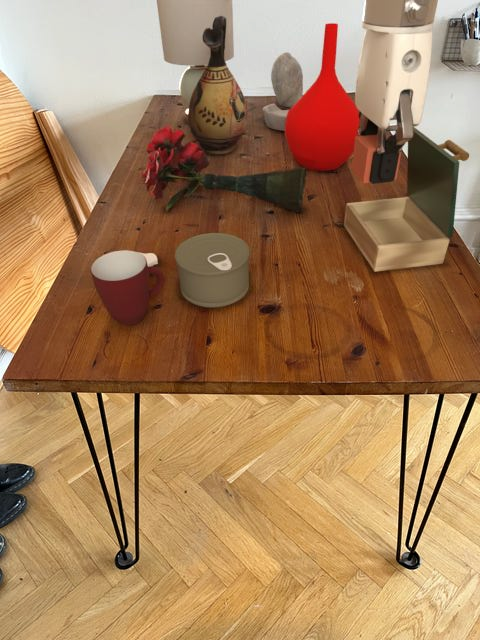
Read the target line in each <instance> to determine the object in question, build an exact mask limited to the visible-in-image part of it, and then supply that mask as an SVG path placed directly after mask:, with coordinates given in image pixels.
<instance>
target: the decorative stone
mask: <svg viewBox="0 0 480 640" xmlns="http://www.w3.org/2000/svg"><path fill="white" fill-rule="evenodd" d="M303 78H304V75H303V69H302V67H301V64H300V62H299V61H298V60H297V59H296V57H294V56H292V54H291V53H290V52H283V53H281V54H280V55H278V57H276V59H274V62H273V64H272V67H271V72H270V81H271V86H272V89H273V93H274V96H275V98H276V100H277V102H278V104H279V105H280V106H282V107H284V108H289V109H291V108H292V106H293V105H294V104H295V103H296V102H297V101H298V100H299V99H300V98H301V97H302V96H303V95H304V79H303Z"/></svg>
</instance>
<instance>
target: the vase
mask: <svg viewBox="0 0 480 640" xmlns="http://www.w3.org/2000/svg"><path fill="white" fill-rule="evenodd" d="M338 30H339V24H338V23H333V22H330V23H325V24H324V33H323V43H322V45H323V46H322V53H321V69H320V71H319V75H318V76H317V78H316V80H315V81H314V82H313V84H312V85H311V86H310V87H309V88H308V89H307V90H306V91H305V93H303V96H302V97H301V98H300V99H299V100H298V101H297V102H296V103H295V104H294V105H293V106H292V108H289V109H290V110H289V109H288V110H289V111H288V113H287V117H286V121H285V131H284V135H285V138H286V142H287V145H288V146H287V147H288V149H289V151H290V154H291V155H292V156H293V158H294V160H295V161H296V162H297V163H298V164H299V165H300V166H301V167H302V168H304V167H305V168H307V170H310V171H314V172H315V171H316V172H328V171H333V170H337V169H338V168H340V167H341V166H343V165H344V164H346V162H347V161H348V160H349V159H350V158H351V156H353V152H354V144H355V137H357V136H359V135H358V126H359V122H360V119H359V116H358V115H359V110H358V109H357V107H356V104H355V101H353V98H351V97H350V95H349V94H348V92H347V91H346V89H345V88H344V87H343V85H342V83H341V82H340V81H339V79H338V76H337V73H336V63H337V62H336V61H337V47H338V32H339V31H338Z"/></svg>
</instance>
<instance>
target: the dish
mask: <svg viewBox="0 0 480 640" xmlns="http://www.w3.org/2000/svg"><path fill="white" fill-rule="evenodd" d="M290 109H291V108H289V109H286V110H285V109H284V110H282V109H281V108H279V107H278V106H277V105H276V104H275V103H270V104H267V105H266V106H263V108H262V113H263V115H264V122H265V125H266V127H268V128H270V129H273V130H275V131H281V132H285V121H286V117H287V113H288V111H289V110H290Z"/></svg>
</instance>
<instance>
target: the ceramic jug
mask: <svg viewBox="0 0 480 640" xmlns="http://www.w3.org/2000/svg"><path fill="white" fill-rule="evenodd" d="M212 27H213V29H210V28H206V29H205V31H204V33H203V36H202V37H203V42H204V43H205V44H206V45H207V46H208V47H209V48H210V59H209V63H208V66H207V68H206V69H205V70H204V72H203V74H202V76H201V78H200V79H199V81H198V83H197V85H196V87H195V89H194V91H193V93H192V96H191V99H190V104H189V107H188V109H189V110H188V122H187V124H188V127H189V129H190V133H191V134H192V136H193V138H194V140H196V142H197V143H198V145H199V146H200V147H201V148H203V150H204V152H205V154H206V155H212V156H215V155H224V154H225V155H226V154H229V153H231V152H233V151H234V150H235V147H236V145H237V144H238V142H239V140H240V139H241V138H242V137H243V135H244V134H245V133H246V129H247V126H248V119H249V117H248V116H249V115H248V114H249V113H248V106H247V101H246V98H245V96H244V93H243V91H242V88H241V87H240V85H239V83H238V81H237V80H236V78H235V77H234V75H233V73H232V72H231V70H230V69H229V67H228V64H227V62H226V61H225V59H224V50H225V38H226V18H225V17H223V16H219V17H216V18H215V19H214V21H213V25H212Z"/></svg>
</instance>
